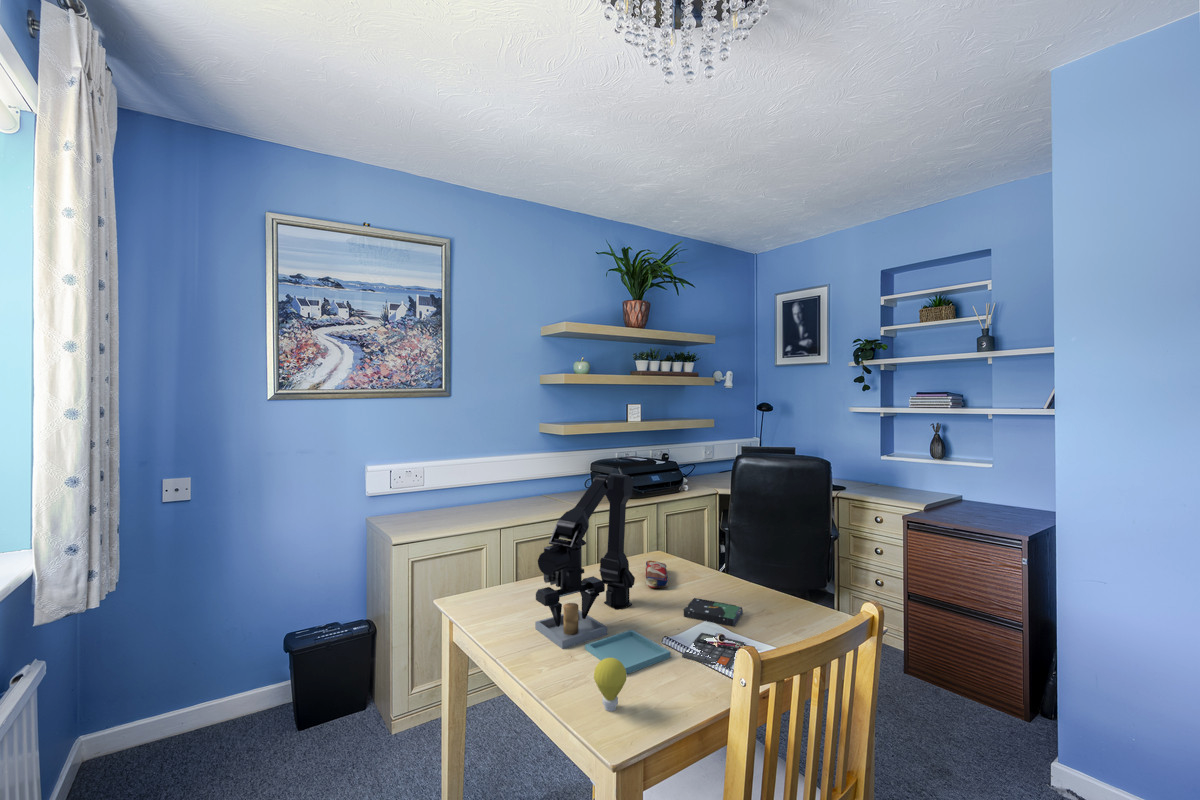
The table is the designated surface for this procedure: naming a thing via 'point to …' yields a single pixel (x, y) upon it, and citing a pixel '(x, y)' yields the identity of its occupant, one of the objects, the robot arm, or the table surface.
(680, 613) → the table surface
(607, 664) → the light bulb
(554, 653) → the table surface
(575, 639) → the shallow gray bin
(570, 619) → the wooden peg
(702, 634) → the calculator
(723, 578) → the table surface
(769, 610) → the table surface
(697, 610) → the disk drive
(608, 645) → the tray
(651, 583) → the pencil case
